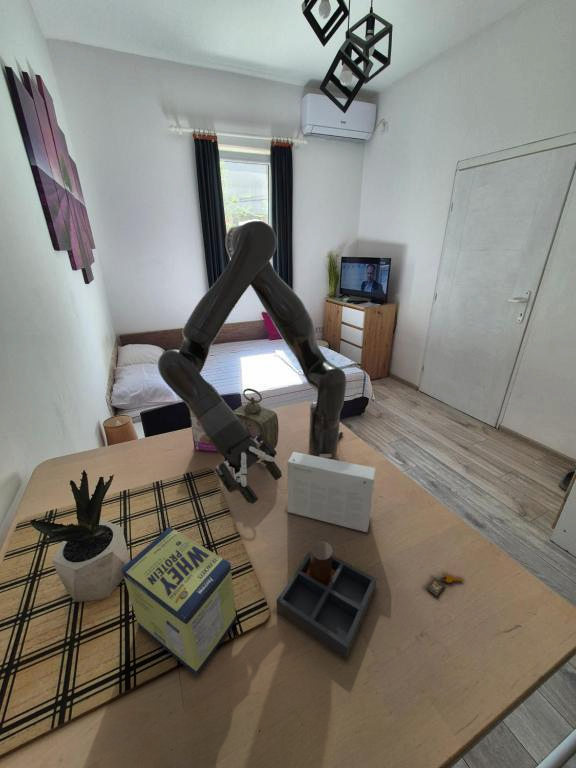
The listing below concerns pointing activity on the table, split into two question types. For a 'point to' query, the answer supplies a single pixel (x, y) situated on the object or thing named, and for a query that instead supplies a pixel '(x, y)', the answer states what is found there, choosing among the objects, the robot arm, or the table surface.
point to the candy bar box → (200, 436)
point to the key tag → (440, 584)
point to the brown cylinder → (321, 562)
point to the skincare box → (330, 490)
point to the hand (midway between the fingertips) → (267, 489)
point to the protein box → (182, 597)
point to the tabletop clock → (258, 420)
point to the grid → (328, 603)
